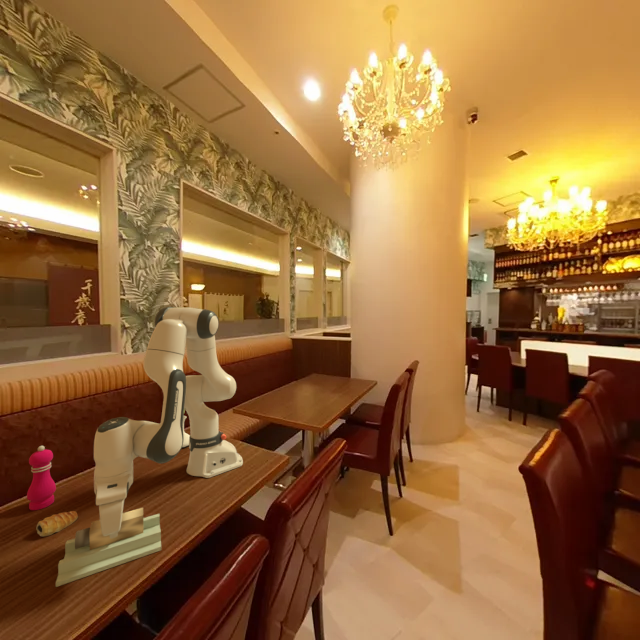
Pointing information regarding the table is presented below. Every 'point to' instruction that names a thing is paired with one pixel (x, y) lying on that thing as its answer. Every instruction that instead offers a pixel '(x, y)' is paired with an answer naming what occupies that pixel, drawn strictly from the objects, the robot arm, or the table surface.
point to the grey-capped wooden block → (95, 538)
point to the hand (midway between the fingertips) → (114, 530)
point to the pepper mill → (41, 480)
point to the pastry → (56, 523)
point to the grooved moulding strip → (108, 553)
